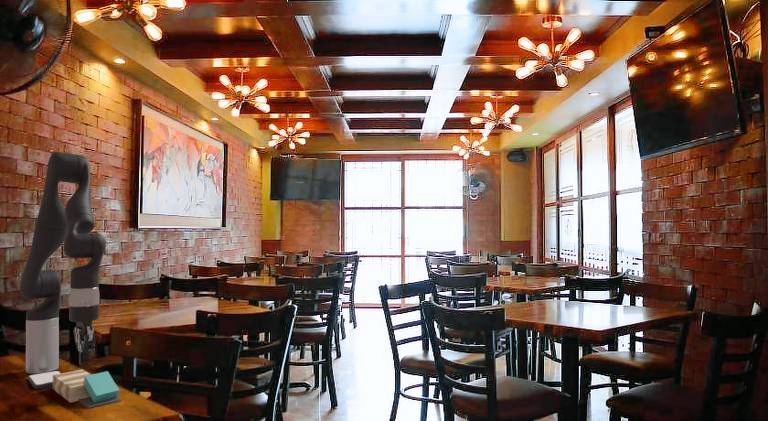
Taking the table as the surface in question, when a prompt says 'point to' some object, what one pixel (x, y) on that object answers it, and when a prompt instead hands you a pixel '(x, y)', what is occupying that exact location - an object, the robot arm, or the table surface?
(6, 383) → the table surface
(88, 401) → the mat
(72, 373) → the board
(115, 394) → the turquoise rectangular block
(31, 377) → the phone case
